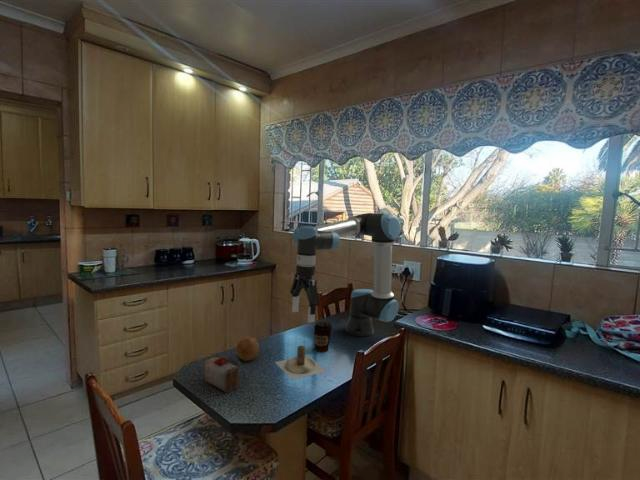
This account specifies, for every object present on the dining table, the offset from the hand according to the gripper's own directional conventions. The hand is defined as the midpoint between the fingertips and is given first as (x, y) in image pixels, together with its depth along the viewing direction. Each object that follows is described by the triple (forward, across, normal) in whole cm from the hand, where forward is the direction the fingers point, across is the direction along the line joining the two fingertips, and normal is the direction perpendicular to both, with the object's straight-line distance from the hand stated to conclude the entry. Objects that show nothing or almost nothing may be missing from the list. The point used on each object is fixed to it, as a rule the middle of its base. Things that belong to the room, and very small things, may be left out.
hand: (302, 316), depth 141 cm
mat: (+22, 0, 0) cm, 22 cm away
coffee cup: (+22, -11, +17) cm, 30 cm away
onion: (+22, -16, -17) cm, 32 cm away
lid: (+21, 0, 0) cm, 21 cm away
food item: (+22, -1, -32) cm, 39 cm away
